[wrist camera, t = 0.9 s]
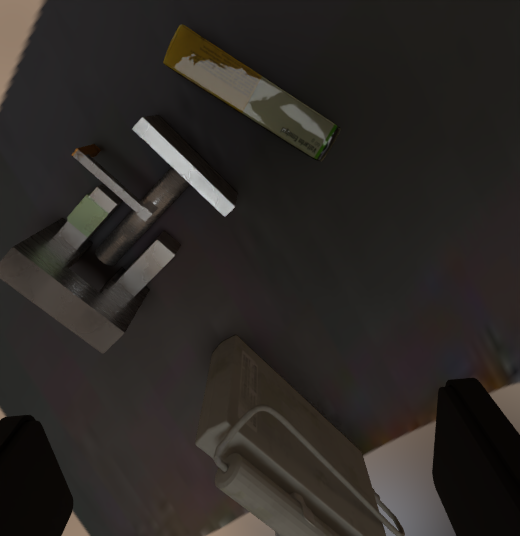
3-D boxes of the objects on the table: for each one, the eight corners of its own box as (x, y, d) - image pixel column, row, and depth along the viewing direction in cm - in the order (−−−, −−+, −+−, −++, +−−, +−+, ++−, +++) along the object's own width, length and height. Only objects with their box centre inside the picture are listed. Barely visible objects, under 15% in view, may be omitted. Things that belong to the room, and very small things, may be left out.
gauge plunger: (137, 94, 28) (117, 93, 24) (238, 193, 31) (235, 206, 27) (49, 202, 31) (17, 217, 27) (147, 283, 34) (132, 308, 30)
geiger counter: (170, 491, 24) (402, 658, 32) (247, 439, 23) (472, 627, 30) (201, 357, 37) (360, 496, 44) (252, 317, 36) (408, 469, 43)
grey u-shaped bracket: (100, 173, 31) (57, 192, 24) (187, 251, 33) (171, 287, 27) (44, 238, 33) (-8, 272, 26) (131, 307, 35) (103, 353, 29)
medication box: (333, 127, 30) (344, 128, 26) (313, 159, 31) (321, 165, 27) (188, 33, 27) (178, 20, 24) (171, 70, 28) (158, 64, 24)
